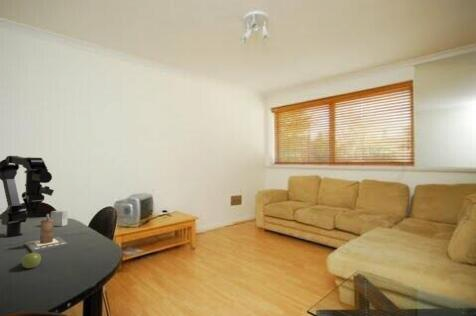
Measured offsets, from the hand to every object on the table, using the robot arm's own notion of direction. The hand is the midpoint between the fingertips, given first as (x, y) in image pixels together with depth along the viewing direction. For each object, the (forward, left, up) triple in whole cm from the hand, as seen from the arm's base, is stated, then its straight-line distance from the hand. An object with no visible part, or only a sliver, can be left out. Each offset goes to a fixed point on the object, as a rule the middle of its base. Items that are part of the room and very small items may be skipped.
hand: (32, 213), depth 129 cm
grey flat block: (+17, +3, -13) cm, 22 cm away
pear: (+41, -6, -13) cm, 43 cm away
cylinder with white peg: (+16, +3, -12) cm, 20 cm away
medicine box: (-23, +17, -13) cm, 32 cm away
